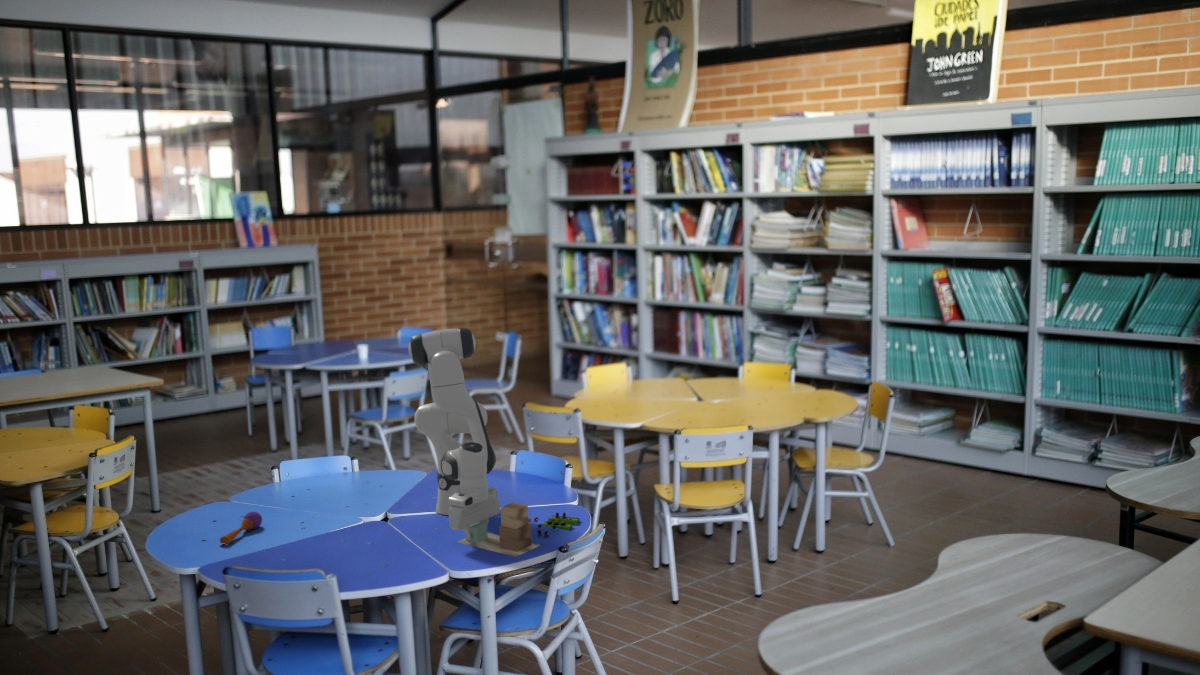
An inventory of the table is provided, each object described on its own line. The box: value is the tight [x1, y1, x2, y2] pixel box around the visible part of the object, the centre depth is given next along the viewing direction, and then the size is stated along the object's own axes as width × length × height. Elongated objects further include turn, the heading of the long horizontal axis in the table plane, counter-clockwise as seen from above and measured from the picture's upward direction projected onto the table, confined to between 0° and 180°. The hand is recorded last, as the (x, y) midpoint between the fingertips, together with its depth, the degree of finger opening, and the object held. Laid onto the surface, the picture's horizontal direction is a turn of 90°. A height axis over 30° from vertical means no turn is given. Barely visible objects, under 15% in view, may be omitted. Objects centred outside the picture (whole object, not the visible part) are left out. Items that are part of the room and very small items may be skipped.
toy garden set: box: [528, 512, 581, 539], centre depth 326 cm, size 23×19×5 cm
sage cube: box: [464, 521, 488, 543], centre depth 314 cm, size 5×5×5 cm
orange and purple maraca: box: [219, 511, 263, 545], centre depth 330 cm, size 6×6×20 cm
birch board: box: [457, 531, 541, 558], centre depth 310 cm, size 12×25×2 cm, turn 54°
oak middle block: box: [500, 502, 530, 529], centre depth 305 cm, size 6×6×6 cm
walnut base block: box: [498, 522, 533, 552], centre depth 306 cm, size 7×7×7 cm
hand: (476, 535), depth 314 cm, fingers closed on sage cube, 5 cm apart
